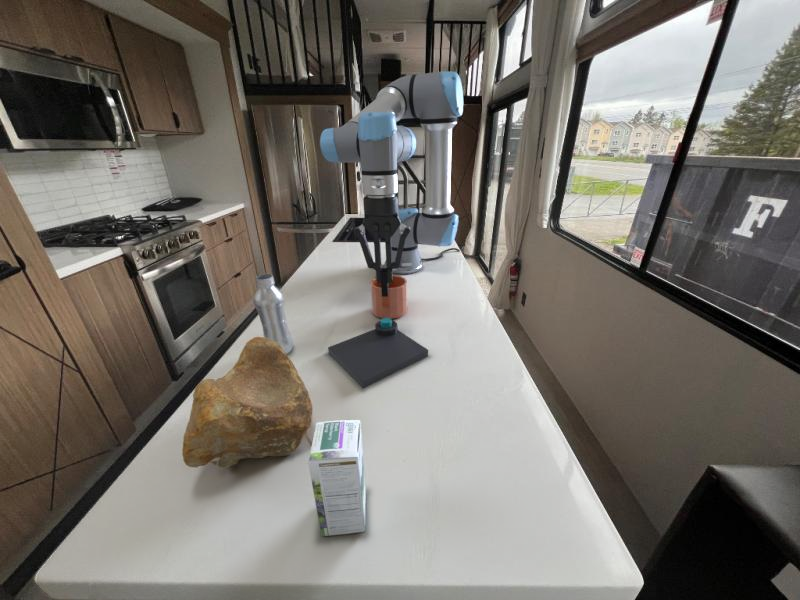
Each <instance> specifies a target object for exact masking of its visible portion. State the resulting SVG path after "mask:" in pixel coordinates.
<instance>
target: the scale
mask: <svg viewBox="0 0 800 600" xmlns="http://www.w3.org/2000/svg"><path fill="white" fill-rule="evenodd" d="M391 320H392V327H390V328H386V329H385V328H381V320H379V321H377V322H376V323H375V324H374V329H372V330H369V331H366V332H364V333H361V334H359V335H356V336H353V337H350V338H349V339H346V340H343V341H340V342H337V343H336V344H333V345H331V346H328V347H327V351H328V355H329V356H330V357H331V358H332V359H333V360H334V361H335V362H336V363H337V364H338V365H339V366H340V367H341V368H342V369H343V370H344V371H345V372H346V373H347V374H348V375H349V376H350V377H351V378H352V379H353V380H354V381H355V382H356V383H357V384H358V385H359V386H360V387H361V388H362V389H363V390H364V389H365V388H368V387H369V386H373V384H375V383H378V382H379V381H382V380H383V379H386V378H388V377H389V376H392V375H394V374H396V373H398V372H400V371H402V370H403V369H406V368H408V367H410V366H411V365H414V364H416V363H418V362H420V361H421V360H424V359H426V358H428V357H429V349H427V348H426V347H425V346H423V345H421V344H420V343H418V342H417V341H416V340H414V339H413V338H411V337H410V336H408V335H406V334H405V333H404V332H402V331H400V330H399V329H398V326H399V325H398V323H397V322H396V321H395V320H394V319H391Z"/></svg>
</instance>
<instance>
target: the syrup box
mask: <svg viewBox="0 0 800 600" xmlns="http://www.w3.org/2000/svg"><path fill="white" fill-rule="evenodd" d="M362 439H363V438H362V425H361V420H359V419H345V420H344V419H340V420H337V419H336V420H327V421H319V422H316V423H315V428H314V433H313V438H312V443H311V448H310V452H309V458H308V461H307V462H308V463H307V464H308V469H309V474H310V481H311V486H312V491H313V496H314V497H313V498H314V502H315V503H314V504H315V508H316V512H317V517H318V518H317V519H318V523H319V529H320V535H321V536H322V537H329V536H338V535H349V534H357V533H365V531H366V499H367V498H366V491H367V490H366V487H367V486H366V473H365V463H364V461H365V460H364V451H363V450H364V449H363V448H364V447H363V440H362Z"/></svg>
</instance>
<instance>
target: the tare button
mask: <svg viewBox="0 0 800 600" xmlns="http://www.w3.org/2000/svg"><path fill="white" fill-rule="evenodd" d="M392 320H393V319H390V318H380V321H381V328H385V329H386V328H390V327H392Z"/></svg>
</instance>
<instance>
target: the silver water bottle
mask: <svg viewBox="0 0 800 600" xmlns="http://www.w3.org/2000/svg"><path fill="white" fill-rule="evenodd" d="M254 280H255V285H256V288H257V289H256V292H255V293H254V295H253V300H252V301H253V305H254V307H255V309H256V312H257V314H258V316H259V321H260V323H261V326H262V331H263V332H262V333H263V337H264V338H269V339H270V340H272V341H274V342H277V343H278V344H279V345H280V346H281V347H282V349H283V350H284V352H285V353H286V355H287V354H289V353H290V352H291V351H292V349H293V348H294V338H293V337H292V334H291V332H290V329H289V326H288V323H287V319H286V311H285V297H284V294H283V292H282V291H281V290H280V289H279V288H278V287H277V286H276V285H275V284H276V281H275V277H274V275H273V274H272V273H263V274H260V275H257V276H255V279H254Z"/></svg>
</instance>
